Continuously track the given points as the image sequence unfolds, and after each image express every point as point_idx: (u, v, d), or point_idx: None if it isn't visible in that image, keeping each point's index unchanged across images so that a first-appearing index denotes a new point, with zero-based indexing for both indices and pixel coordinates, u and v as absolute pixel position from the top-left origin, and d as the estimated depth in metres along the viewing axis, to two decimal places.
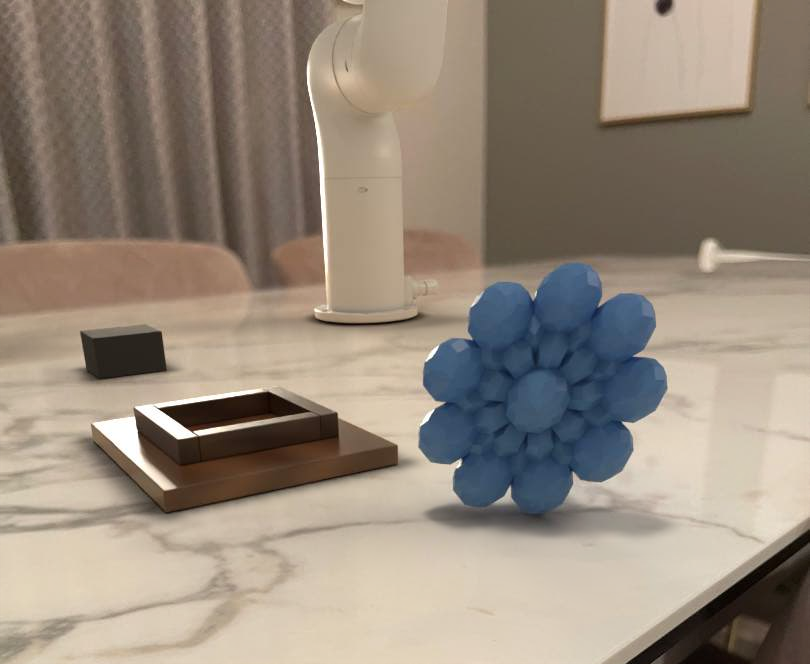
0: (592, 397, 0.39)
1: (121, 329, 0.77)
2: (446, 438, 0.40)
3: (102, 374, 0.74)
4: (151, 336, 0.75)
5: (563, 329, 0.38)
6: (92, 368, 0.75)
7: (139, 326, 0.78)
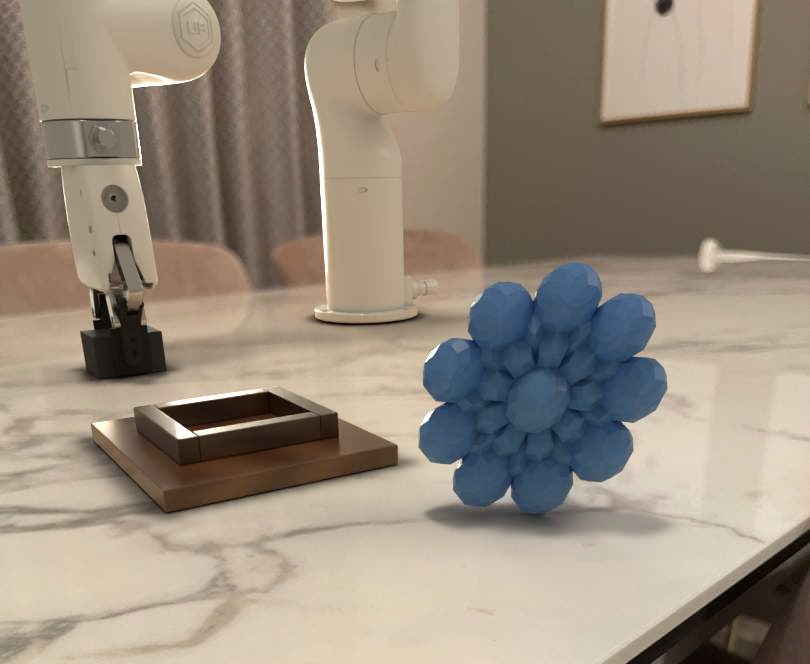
0: (592, 397, 0.39)
1: None
2: (446, 438, 0.40)
3: (102, 374, 0.74)
4: (151, 336, 0.75)
5: (563, 329, 0.38)
6: (92, 368, 0.75)
7: None
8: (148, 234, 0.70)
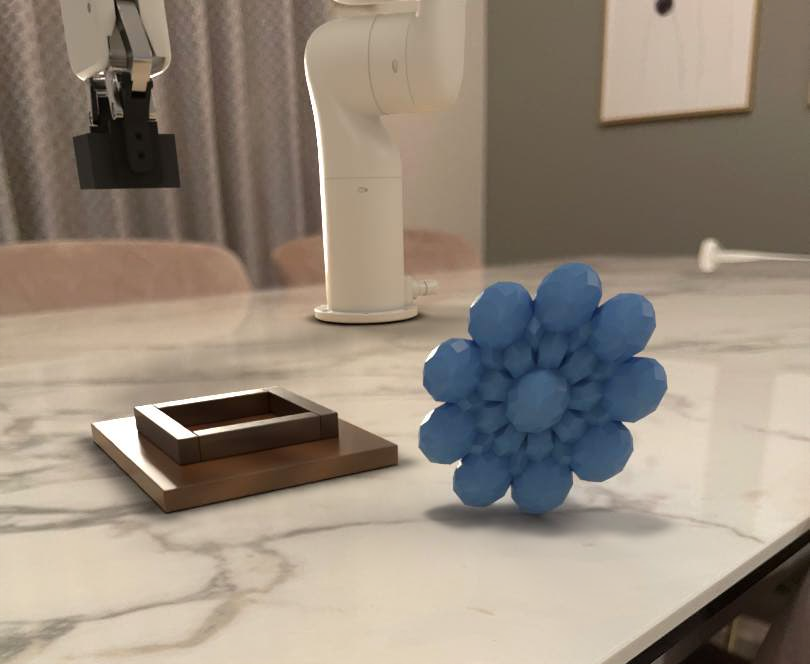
0: (592, 397, 0.39)
1: None
2: (446, 438, 0.40)
3: (99, 183, 0.58)
4: (161, 139, 0.59)
5: (563, 329, 0.38)
6: (87, 180, 0.60)
7: None
8: None
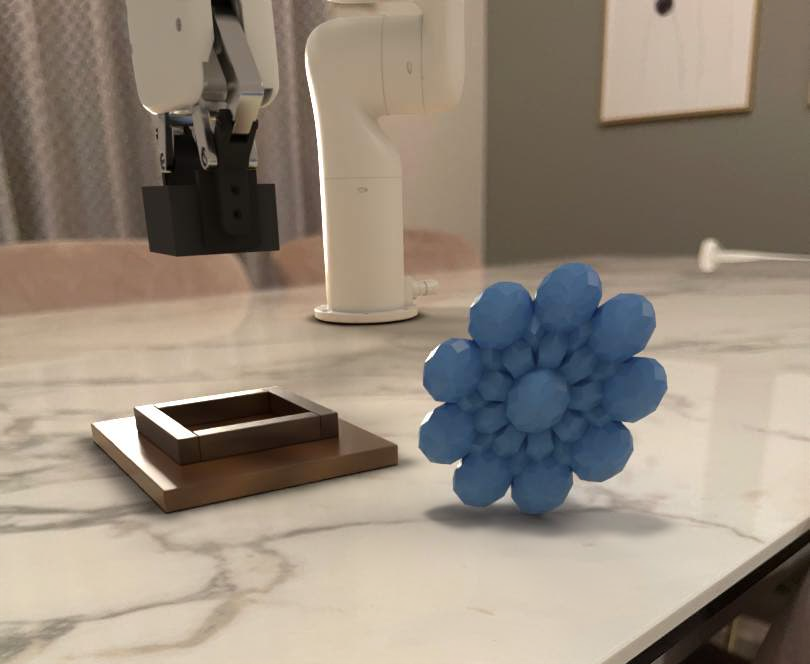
0: (592, 397, 0.39)
1: None
2: (446, 438, 0.40)
3: (181, 249, 0.45)
4: (258, 190, 0.46)
5: (563, 329, 0.38)
6: (162, 243, 0.46)
7: None
8: (269, 0, 0.41)
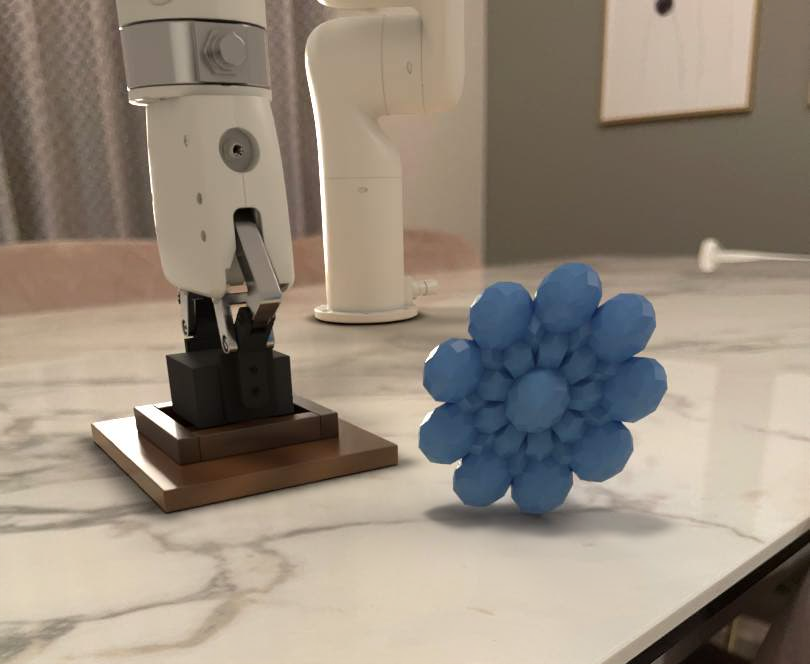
0: (592, 397, 0.39)
1: None
2: (446, 438, 0.40)
3: (204, 422, 0.49)
4: (275, 363, 0.50)
5: (563, 329, 0.38)
6: (186, 411, 0.50)
7: None
8: (285, 208, 0.45)
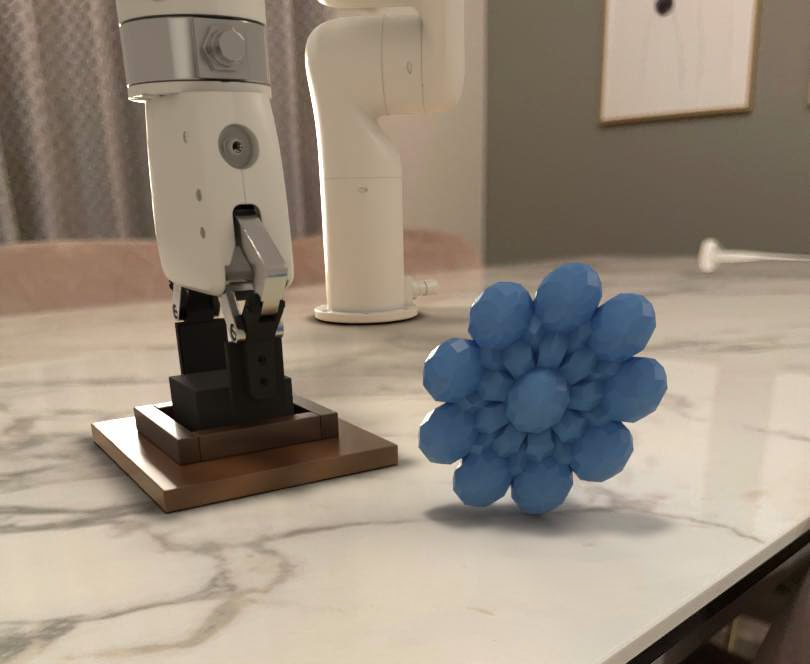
0: (592, 397, 0.39)
1: None
2: (446, 438, 0.40)
3: None
4: None
5: (563, 329, 0.38)
6: None
7: None
8: (285, 204, 0.45)
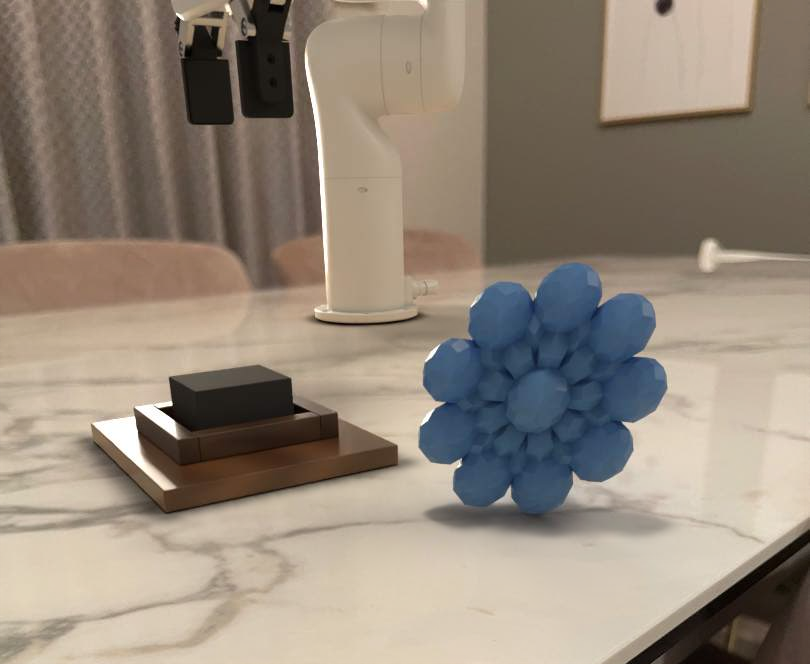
0: (592, 397, 0.39)
1: (229, 374, 0.52)
2: (446, 438, 0.40)
3: None
4: (276, 385, 0.50)
5: (563, 329, 0.38)
6: None
7: (252, 368, 0.53)
8: None
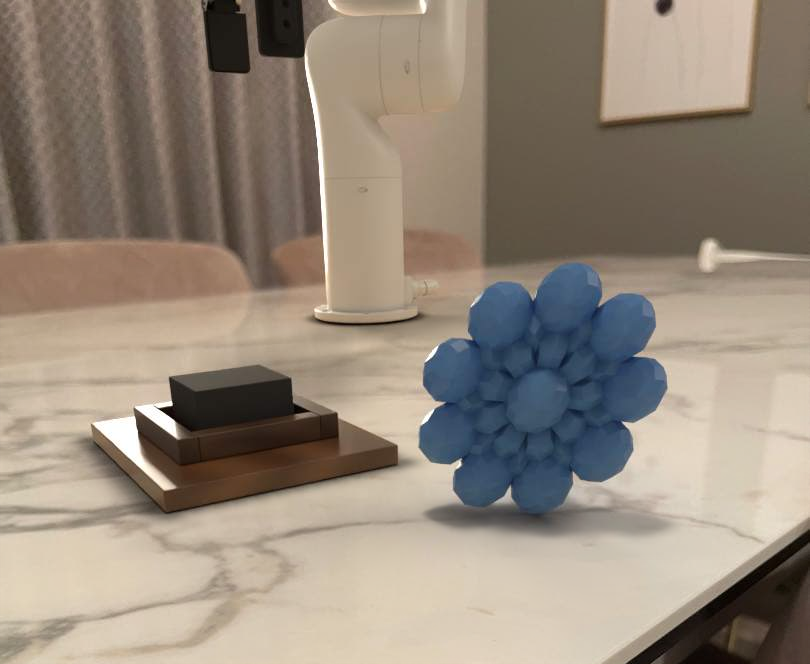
0: (592, 397, 0.39)
1: (229, 374, 0.52)
2: (446, 438, 0.40)
3: None
4: (276, 385, 0.50)
5: (563, 329, 0.38)
6: None
7: (252, 368, 0.53)
8: None
